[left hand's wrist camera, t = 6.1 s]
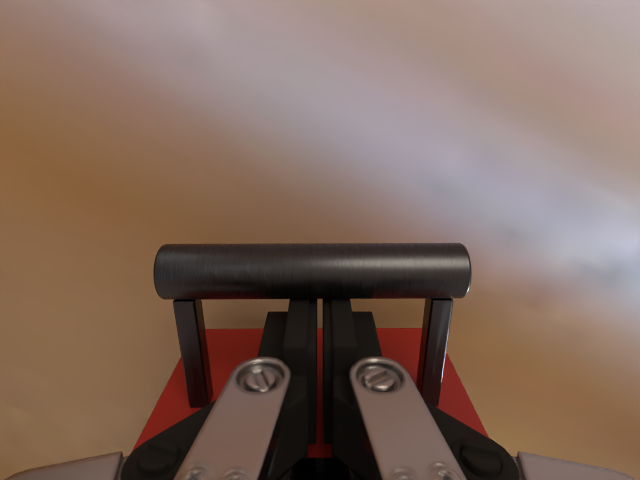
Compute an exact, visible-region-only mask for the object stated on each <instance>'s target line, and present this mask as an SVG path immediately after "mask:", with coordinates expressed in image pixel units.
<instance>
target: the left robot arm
mask: <svg viewBox="0 0 640 480" xmlns="http://www.w3.org/2000/svg"><path fill="white" fill-rule="evenodd" d="M316 429H317V299H290V302H289V308H288V312H268V314H267V318H266V322H265V326H264V331H263V335H262V339H261V343H260V347H259V351H258V355H257V357H256V358H251V359H249V360H246V361H244V362H242V363H241V364H239V365H238V366H237V367H236V368H235V369H234V370H233V372H232V373H231V375H230V377H229V378H228V380H227V382H226V384H225V386H224V388H223V389H222V391H221V393H220V395H219V397H218V399H217V400H215V401H213V402H212V403H210V404H208V405H207V406H205V407H203V408H201V409H200V410H198V411H196V412H195V413H193V414H191V415H190V416H188V417H186V418H184V419H183V420H181V421H179V422H178V423H176V424H174V425H173V426H171V427H169V428H167V429H166V430H164V431H162V432H161V433H159V434H157V435H156V436H154V437H152V438H150V439H149V440H147V441H145V442H144V443H143V444H141V445H140V446H138V447H137V448H136V449H135V450H134V451H133V452H132V453H131V454H130V455H129V456H127V457H123V454H122V451H121V452H116V453H111V454H106V455H100V456H95V457H90V458H85V459H80V460H74V461H69V462H64V463H59V464H54V465H48V466H43V467H38V468H33V469H28V470H25V471H22V472H19V473H16V474H14V475H12V476H10V477H8V478H7V479H5V480H293V473H294V464H295V463H296V462H297V461H298V460H300V459H301V458H308V444H316ZM323 440H324V444H331V446H332V458H339V459H340V460H341V461H343V462H344V463H345V464H346V473H347V480H635V479H633V478H632V477H630V476H628V475H626V474H624V473H621V472H618V471H615V470H612V469H607V468H602V467H597V466H592V465H586V464H581V463H576V462H571V461H566V460H560V459H555V458H550V457H545V456H540V455H534V454H529V453H524V452H519V451H518V454H517V457H513V456H511V455H510V454H509V453H508V452H507V451H506V450H505V449H504V448H503V447H501V446H500V445H499V444H497V443H496V442H495V441H493V440H491V439H489V438H488V437H486V436H484V435H483V434H481V433H479V432H478V431H476V430H474V429H472V428H471V427H469V426H467V425H466V424H464V423H462V422H461V421H459V420H457V419H455V418H454V417H452V416H450V415H449V414H447V413H445V412H444V411H442V410H440V409H438V408H437V407H435V406H433V405H432V404H430V403H428V402H427V401H425V400H423V399H422V397H421V395H420V393H419V391H418V389H417V388H416V386H415V384H414V382H413V380H412V378H411V377H410V375H409V373H408V372H407V370H406V369H405V368H404V367H403V366H402V365H401V364H399V363H398V362H396V361H394V360H391V359H389V358H384V357H383V356H382V352H381V347H380V343H379V339H378V335H377V331H376V327H375V323H374V319H373V315H372V312H352V309H351V303H350V299H323Z"/></svg>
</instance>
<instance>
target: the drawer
mask: <svg viewBox="0 0 640 480" xmlns="http://www.w3.org/2000/svg"><path fill="white" fill-rule="evenodd" d="M470 283H471V262H470V257H469V254H468V251H467V249H466V247H465V246H464V245H463V244H460V243H350V244H165V245H163V246H162V247H161V248H160V249H159V250H158V253H157V255H156V258H155V263H154V284H155V288H156V291H157V294H158V295H159V297H161V298H162V299H174V301H173V306H174V312H175V318H176V325H177V331H178V337H179V344H180V350H181V358H180V360H179V362H178V364H177V366H176V368H175V370H174V371H173V373H172V375H171V377H170V379H169V381H168V383H167V385H166V387H165V389H164V391H163V393H162V395H161V397H160V399H159V400H158V402H157V404H156V406H155V408H154V410H153V412H152V414H151V416H150V418H149V420H148V422H147V424H146V426H145V427H144V429H143V431H142V433H141V435H140V437H139V439H138V441H137V443H136V445H135V447H134V449H133V451H134V450H135V449H136V448H137V447H138V446H140V445H141V444H143V443H144V442H145V441H147V440H149V439H150V438H152V437H154V436H156V435H157V434H159V433H161V432H162V431H164V430H166V429H167V428H169V427H171V426H173V425H174V424H176V423H178V422H179V421H181V420H183V419H184V418H186V417H188V416H190V415H191V414H193V413H195V412H196V411H198V410H200V409H201V408H203V407H205V406H207V405H208V404H210V403H212V402H213V401H215V400H217V399H218V397H219V395H220V393H221V391H222V389H223V388H224V386H225V384H226V382H227V380H228V378H229V377H230V375H231V373H232V372H233V370H234V369H235V368H236V367H237V366H238V365H239V364H241V363H242V362H244V361H246V360H249V359H251V358H256V357H257V355H258V351H259V347H260V343H261V339H262V335H263V331H264V329H205V325H204V317H203V309H202V301H201V299H397V298H426V299H425V308H424V317H423V326H422V328H376V331H377V335H378V339H379V343H380V347H381V352H382V356H383V357H384V358H389V359H391V360H394V361H396V362H398V363H399V364H401V365H402V366H403V367H404V368H405V369H406V370H407V372H408V373H409V375H410V377H411V378H412V380H413V382H414V384H415V386H416V388H417V389H418V391H419V393H420V395H421V397H422V399H423V400H425V401H427V402H428V403H430V404H432V405H433V406H435V407H437V408H438V409H440V410H442V411H444V412H445V413H447V414H449V415H450V416H452V417H454V418H455V419H457V420H459V421H461V422H462V423H464V424H466V425H467V426H469V427H471V428H472V429H474V430H476V431H478V432H479V433H481V434H483V435H484V436H486V437H488V435H487V433H486V431H485V429H484V427H483V425H482V423H481V421H480V419H479V417H478V415H477V413H476V411H475V409H474V407H473V405H472V403H471V401H470V399H469V397H468V395H467V393H466V391H465V389H464V387H463V385H462V383H461V381H460V379H459V377H458V374H457V372H456V370H455V368H454V366H453V364H452V362H451V360H450V358H449V356H448V354H447V352H446V349H447V342H448V335H449V328H450V320H451V313H452V306H453V299H452V298H463V297H465V296H466V295H467V293H468V291H469V288H470ZM488 438H489V437H488ZM133 451H132V452H133ZM293 480H347V473H346V464H345V463H344V462H343V461H341V460H340V459H339V458H332V446H331V444H324V440H323V329H317V429H316V444H308V458H301V459H300V460H298V461H297V462H296V463H295V464H294V473H293Z"/></svg>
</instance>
